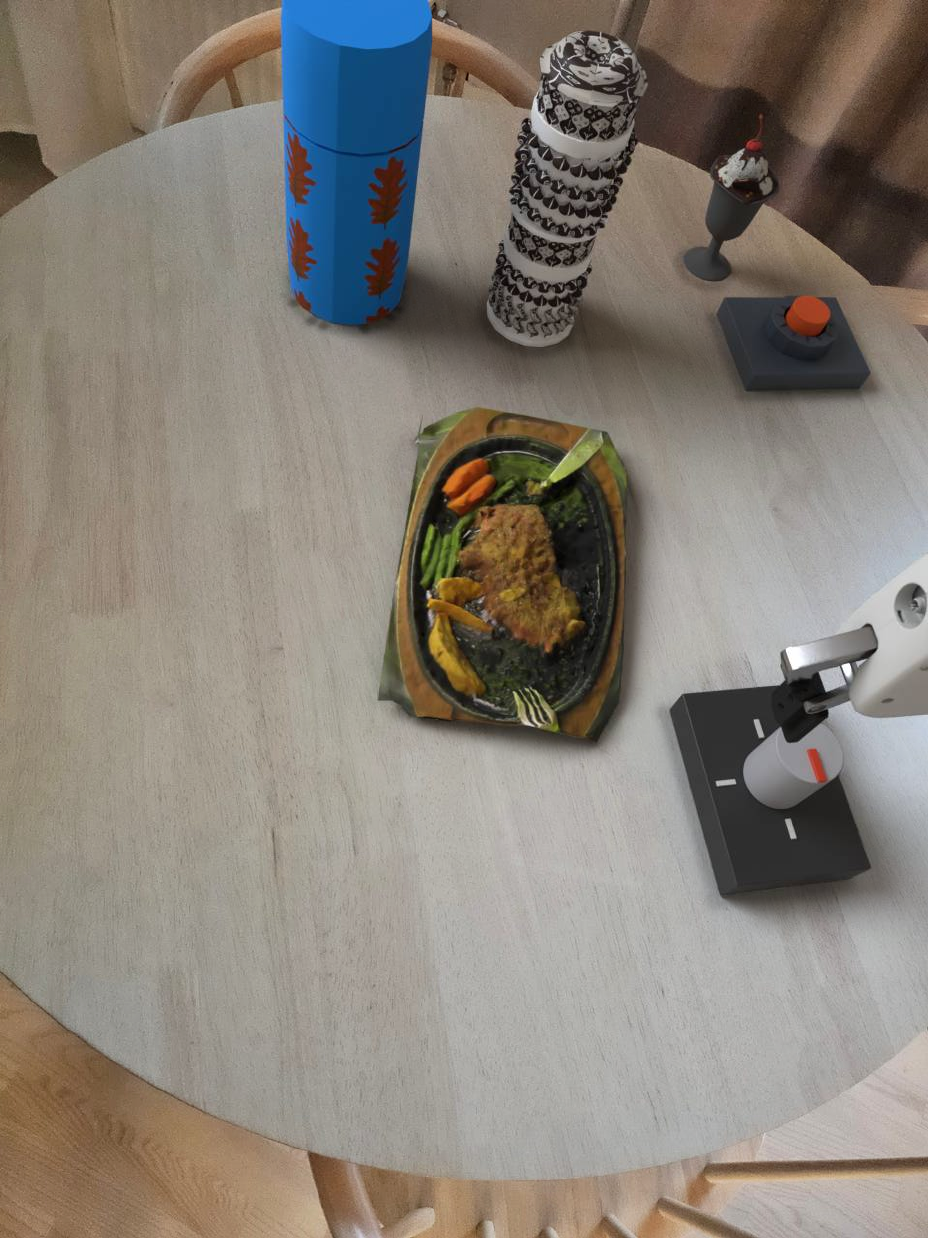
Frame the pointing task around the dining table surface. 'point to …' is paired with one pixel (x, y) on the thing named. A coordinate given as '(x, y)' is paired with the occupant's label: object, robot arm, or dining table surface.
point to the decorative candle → (564, 184)
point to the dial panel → (743, 826)
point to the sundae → (732, 205)
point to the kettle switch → (808, 316)
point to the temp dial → (792, 767)
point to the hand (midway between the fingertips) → (857, 712)
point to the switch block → (789, 347)
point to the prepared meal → (511, 576)
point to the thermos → (352, 149)
